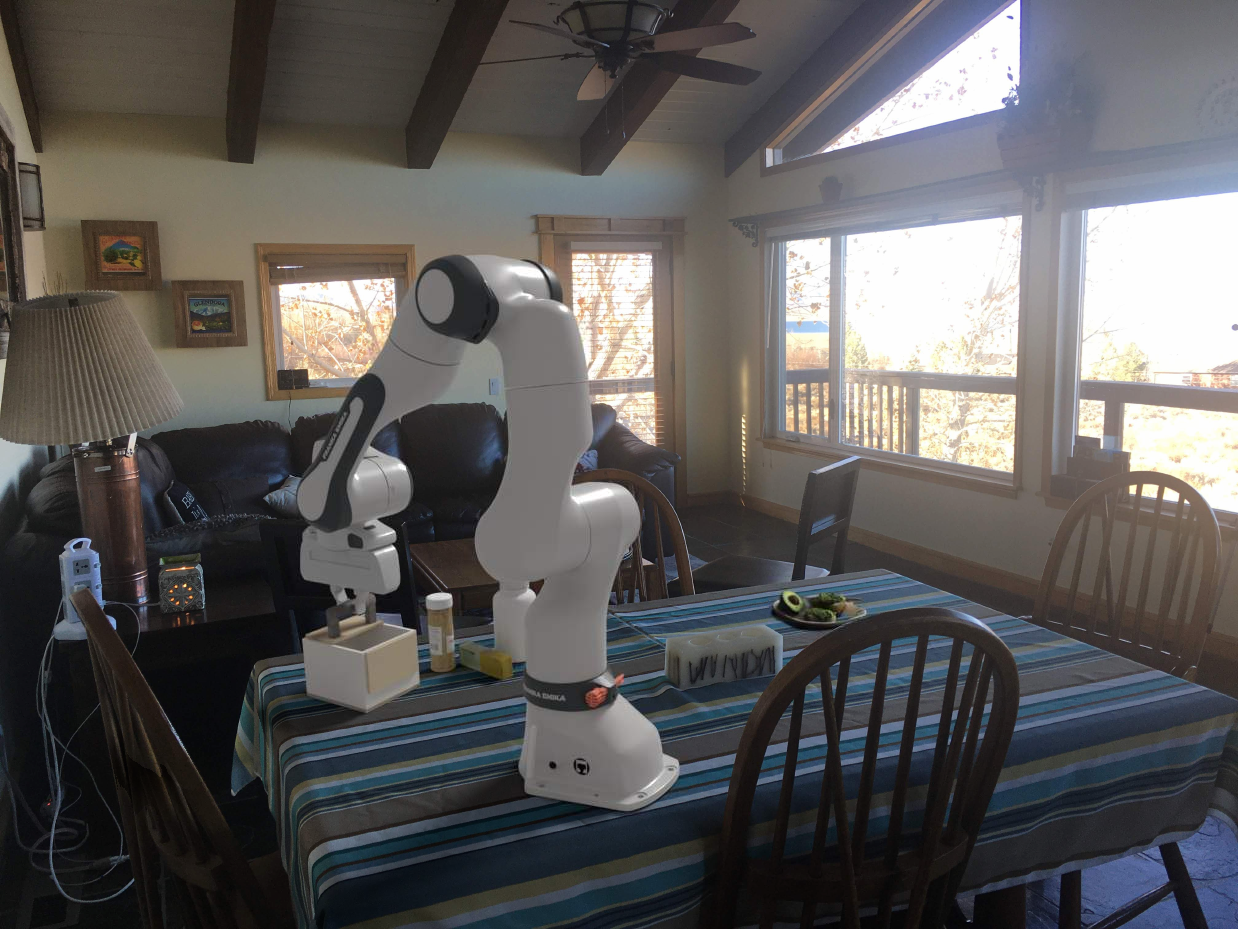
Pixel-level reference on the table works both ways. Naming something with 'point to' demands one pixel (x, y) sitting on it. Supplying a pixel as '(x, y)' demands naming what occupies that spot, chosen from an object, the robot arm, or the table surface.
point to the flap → (346, 622)
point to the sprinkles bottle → (441, 632)
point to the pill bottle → (511, 618)
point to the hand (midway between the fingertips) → (351, 611)
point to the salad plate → (816, 609)
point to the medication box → (485, 660)
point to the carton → (363, 667)
